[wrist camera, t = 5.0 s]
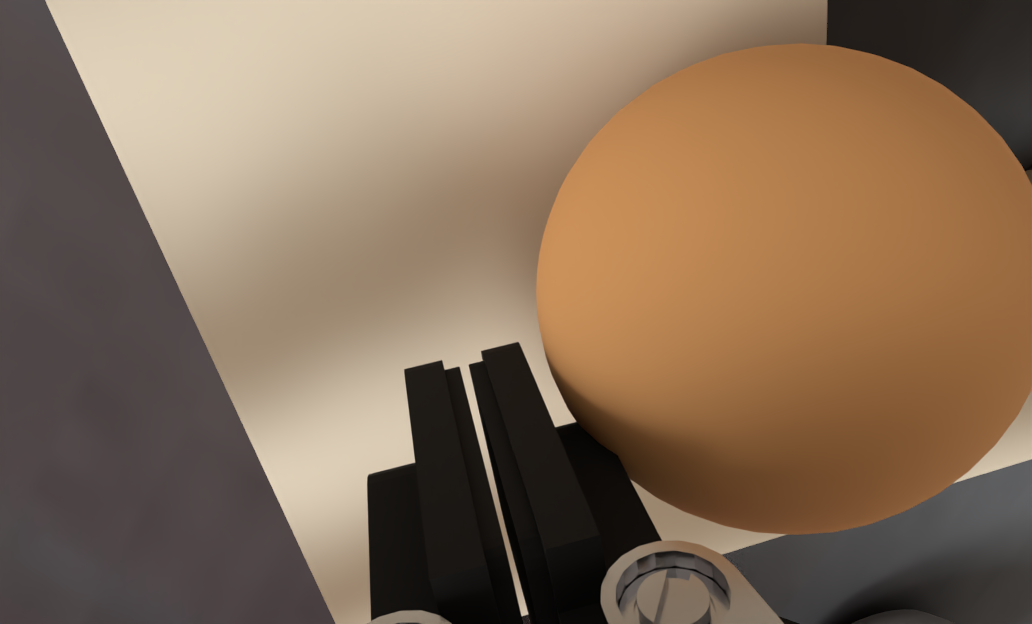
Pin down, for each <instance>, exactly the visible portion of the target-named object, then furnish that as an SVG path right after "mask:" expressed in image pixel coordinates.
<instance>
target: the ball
mask: <svg viewBox="0 0 1032 624" xmlns="http://www.w3.org/2000/svg"><path fill="white" fill-rule="evenodd" d="M536 299H537V314H538V322H539V328H540V333H541V338H542V342H543V347H544V351H545V356H546V359H547V362H548V365H549V368H550V371H551V374H552V377H553V379H554V381H555V383H556V385H557V387H558V390H559V392H560V394H561V396H562V398H563V400H564V402H565V404H566V406H567V408H568V410H569V411H570V413H571V414H572V416H573V417H574V419H575V421H576V422H578V423H579V425H580V426H581V427H582V428H583V429H584V430H585V431H586V432H587V433H588V434H589V435H591V436H592V437H593V438H594V439H595V440H596V441H597V442H598V443H599V444H601V445H603V446H604V447H606V448H607V449H609V450H610V451H612V452H613V453H615V454H616V455H618V457H619V459H620V461H621V463H622V465H623V466H624V468H625V470H626V472H627V474H628V476H629V478H630V479H631V480H632V481H634V482H635V483H636V484H638V485H639V486H641V487H642V488H643V489H645V490H646V491H648V492H649V493H650V494H652V495H653V496H655V497H656V498H658V499H660V500H662V501H664V502H666V503H668V504H670V505H672V506H674V507H675V508H677V509H679V510H681V511H683V512H686V513H689V514H692V515H694V516H697V517H700V518H703V519H706V520H709V521H711V522H714V523H717V524H720V525H723V526H727V527H732V528H737V529H742V530H747V531H751V532H757V533H773V534H789V535H801V534H814V533H828V532H837V531H841V530H846V529H851V528H855V527H860V526H865V525H869V524H872V523H874V522H877V521H880V520H883V519H885V518H888V517H891V516H894V515H896V514H899V513H902V512H904V511H906V510H908V509H910V508H912V507H914V506H916V505H918V504H920V503H922V502H923V501H925V500H927V499H929V498H931V497H933V496H935V495H937V494H938V493H940V492H941V491H943V490H944V489H945V488H947V487H948V486H950V485H951V484H952V483H954V482H955V481H956V480H958V479H959V478H961V477H962V476H963V475H965V474H966V473H967V472H969V471H970V470H971V469H972V468H973V467H974V466H975V465H976V464H977V463H978V462H979V461H980V460H981V459H982V458H983V457H984V456H985V455H986V454H987V453H988V452H989V451H990V450H991V449H992V448H993V447H994V446H995V445H996V444H997V443H998V441H999V440H1000V439H1001V437H1002V436H1003V435H1004V433H1005V432H1006V430H1007V429H1008V428H1009V426H1010V425H1011V424H1012V422H1013V421H1014V420H1015V418H1016V417H1017V416H1018V414H1019V413H1020V411H1021V409H1022V407H1023V405H1024V403H1025V401H1026V399H1027V397H1028V396H1029V394H1030V392H1031V390H1032V185H1031V183H1030V181H1029V179H1028V177H1027V175H1026V173H1025V171H1024V169H1023V167H1022V165H1021V164H1020V162H1019V161H1018V160H1017V158H1016V157H1015V155H1014V154H1013V153H1012V151H1011V150H1010V148H1009V147H1008V145H1007V144H1006V143H1005V141H1004V140H1003V138H1002V137H1001V136H1000V135H999V134H998V133H997V132H996V131H995V130H994V129H993V128H992V127H991V126H990V125H989V123H988V122H987V121H986V120H985V119H984V118H983V117H982V116H981V115H980V114H979V113H978V112H977V111H976V110H975V109H974V108H972V107H971V106H970V105H968V104H967V103H966V102H965V101H963V100H962V99H961V98H959V97H958V96H957V95H955V94H954V93H953V92H951V91H950V90H949V89H947V88H946V87H945V86H943V85H942V84H940V83H938V82H936V81H934V80H933V79H931V78H929V77H927V76H925V75H923V74H922V73H920V72H918V71H916V70H914V69H913V68H910V67H907V66H905V65H902V64H899V63H897V62H894V61H891V60H889V59H886V58H883V57H881V56H877V55H874V54H870V53H866V52H861V51H857V50H852V49H847V48H843V47H838V46H830V45H817V44H803V43H799V44H784V45H769V46H761V47H753V48H749V49H744V50H739V51H734V52H729V53H725V54H721V55H718V56H716V57H713V58H710V59H707V60H705V61H702V62H699V63H696V64H694V65H691V66H689V67H687V68H685V69H683V70H680V71H678V72H677V73H675V74H673V75H671V76H669V77H667V78H665V79H663V80H662V81H660V82H658V83H656V84H654V85H653V86H651V87H650V88H649V89H647V90H646V91H645V92H643V93H642V94H641V95H639V96H638V97H637V98H635V99H634V100H633V101H631V102H630V103H629V104H627V105H626V106H625V107H623V108H622V109H621V110H619V111H618V112H617V113H616V114H615V115H614V116H613V117H612V118H611V119H610V120H609V122H608V123H607V124H606V125H605V126H604V127H603V128H602V129H601V130H600V131H599V132H598V133H597V134H596V135H595V136H594V137H593V138H592V140H591V141H590V142H589V143H588V145H587V146H586V148H585V149H584V151H583V152H582V153H581V155H580V156H579V158H578V159H577V161H576V162H575V164H574V165H573V167H572V168H571V170H570V171H569V173H568V174H567V176H566V178H565V180H564V182H563V184H562V186H561V188H560V190H559V192H558V194H557V197H556V199H555V202H554V204H553V207H552V210H551V212H550V215H549V218H548V221H547V224H546V228H545V231H544V234H543V238H542V243H541V248H540V253H539V260H538V268H537V283H536Z"/></svg>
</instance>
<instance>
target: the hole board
mask: <svg viewBox="0 0 1032 624" xmlns="http://www.w3.org/2000/svg"><path fill="white" fill-rule="evenodd" d="M45 1H46V3H47V5H48V7H49V10H50V12H51V14H52V16H53V18H54V20H55V22H56V25H57V27H58V29H59V31H60V33H61V35H62V37H63V40H64V42H65V44H66V46H67V48H68V50H69V52H70V55H71V57H72V59H73V61H74V63H75V65H76V67H77V70H78V72H79V74H80V76H81V78H82V80H83V82H84V85H85V87H86V89H87V91H88V93H89V95H90V97H91V100H92V102H93V104H94V106H95V108H96V110H97V113H98V115H99V117H100V119H101V121H102V123H103V125H104V128H105V130H106V132H107V134H108V136H109V138H110V140H111V143H112V145H113V147H114V149H115V151H116V153H117V155H118V158H119V160H120V162H121V164H122V166H123V168H124V170H125V173H126V175H127V177H128V179H129V181H130V183H131V185H132V188H133V190H134V192H135V194H136V196H137V198H138V201H139V203H140V205H141V207H142V209H143V211H144V213H145V216H146V218H147V220H148V222H149V224H150V226H151V228H152V231H153V233H154V235H155V237H156V239H157V241H158V243H159V246H160V248H161V250H162V252H163V254H164V256H165V258H166V261H167V263H168V265H169V267H170V269H171V271H172V273H173V276H174V278H175V280H176V282H177V284H178V286H179V288H180V291H181V293H182V295H183V297H184V299H185V301H186V304H187V306H188V308H189V310H190V312H191V314H192V316H193V319H194V321H195V323H196V325H197V327H198V329H199V331H200V334H201V336H202V338H203V340H204V342H205V344H206V346H207V349H208V351H209V353H210V355H211V357H212V359H213V361H214V364H215V366H216V368H217V370H218V372H219V374H220V376H221V379H222V381H223V383H224V385H225V387H226V389H227V392H228V394H229V396H230V398H231V400H232V402H233V404H234V407H235V409H236V411H237V413H238V415H239V417H240V419H241V422H242V424H243V426H244V428H245V430H246V432H247V434H248V437H249V439H250V441H251V443H252V445H253V447H254V449H255V452H256V454H257V456H258V458H259V460H260V462H261V464H262V467H263V469H264V471H265V473H266V475H267V477H268V479H269V482H270V484H271V486H272V488H273V490H274V492H275V495H276V497H277V499H278V501H279V503H280V505H281V507H282V510H283V512H284V514H285V516H286V518H287V520H288V522H289V525H290V527H291V529H292V531H293V533H294V535H295V537H296V540H297V542H298V544H299V546H300V548H301V550H302V552H303V555H304V557H305V559H306V561H307V563H308V565H309V567H310V570H311V572H312V574H313V576H314V578H315V580H316V583H317V585H318V587H319V589H320V591H321V593H322V595H323V598H324V600H325V602H326V604H327V606H328V608H329V610H330V613H331V615H332V617H333V619H334V621H335V623H336V624H367V623H369V622H371V604H370V570H369V536H368V501H367V477H368V475H369V474H372V473H376V472H380V471H384V470H387V469H391V468H395V467H399V466H403V465H407V464H411V463H415V457H414V449H413V440H412V432H411V424H410V416H409V408H408V400H407V391H406V383H405V375H404V369H407V368H411V367H415V366H419V365H423V364H428V363H432V362H436V361H440V360H442V361H443V365H444V369H445V370H446V369H451V368H455V367H460V370H461V374H462V378H463V382H464V386H465V390H466V394H467V398H468V402H469V406H470V410H471V414H472V418H473V422H474V425H475V429H476V433H477V437H478V441H479V445H480V449H481V453H482V457H483V461H484V465H485V469H486V473H487V477H488V481H489V485H490V489H491V492H492V496H493V500H494V504H495V508H496V512H497V516H498V520H499V524H500V528H501V532H502V536H503V540H504V544H505V548H506V552H507V556H508V560H509V564H510V569H511V573H512V577H513V581H514V586H515V590H516V594H517V599H518V603H519V607H520V612H521V616H524V615H527V614H528V611H527V607H526V603H525V600H524V596H523V592H522V588H521V585H520V581H519V577H518V573H517V570H516V566H515V562H514V558H513V554H512V551H511V547H510V543H509V539H508V536H507V532H506V528H505V524H504V520H503V515H502V511H501V507H500V502H499V498H498V493H497V489H496V485H495V480H494V476H493V471H492V467H491V462H490V458H489V454H488V449H487V445H486V440H485V436H484V432H483V427H482V423H481V418H480V414H479V409H478V405H477V401H476V396H475V392H474V387H473V383H472V378H471V374H470V369H469V364H472V363H476V362H480V361H483V360H482V355H481V351H482V350H487V349H491V348H495V347H499V346H503V345H507V344H511V343H515V342H519V343H520V345H521V348H522V350H523V352H524V355H525V357H526V359H527V362H528V364H529V367H530V369H531V371H532V374H533V376H534V378H535V381H536V383H537V385H538V388H539V390H540V393H541V395H542V397H543V400H544V402H545V404H546V407H547V409H548V411H549V414H550V416H551V419H552V421H553V423H554V426H555V427H558V426H562V425H566V424H570V423H574V422H576V421H575V419H574V417H573V416H572V414H571V413H570V411H569V410H568V408H567V406H566V404H565V402H564V400H563V398H562V396H561V394H560V392H559V390H558V387H557V385H556V383H555V381H554V379H553V377H552V374H551V371H550V368H549V365H548V362H547V359H546V356H545V351H544V347H543V342H542V338H541V333H540V328H539V322H538V314H537V299H536V283H537V268H538V260H539V253H540V248H541V243H542V238H543V234H544V231H545V228H546V224H547V221H548V218H549V215H550V212H551V210H552V207H553V204H554V202H555V199H556V197H557V194H558V192H559V190H560V188H561V186H562V184H563V182H564V180H565V178H566V176H567V174H568V173H569V171H570V170H571V168H572V167H573V165H574V164H575V162H576V161H577V159H578V158H579V156H580V155H581V153H582V152H583V151H584V149H585V148H586V146H587V145H588V143H589V142H590V141H591V140H592V138H593V137H594V136H595V135H596V134H597V133H598V132H599V131H600V130H601V129H602V128H603V127H604V126H605V125H606V124H607V123H608V122H609V120H610V119H611V118H612V117H613V116H614V115H615V114H616V113H617V112H618V111H619V110H621V109H622V108H623V107H625V106H626V105H627V104H629V103H630V102H631V101H633V100H634V99H635V98H637V97H638V96H639V95H641V94H642V93H643V92H645V91H646V90H647V89H649V88H650V87H651V86H653V85H654V84H656V83H658V82H660V81H662V80H663V79H665V78H667V77H669V76H671V75H673V74H675V73H677V72H678V71H680V70H683V69H685V68H687V67H689V66H691V65H694V64H696V63H699V62H702V61H705V60H707V59H710V58H713V57H716V56H718V55H721V54H725V53H729V52H734V51H739V50H744V49H749V48H753V47H761V46H769V45H784V44H799V43H803V44H817V45H826V42H827V0H45ZM1025 173H1026V175H1027V177H1028V179H1029V181H1030V183H1031V185H1032V169H1031V170H1027V171H1025ZM1030 459H1032V390H1031V392H1030V394H1029V396H1028V397H1027V399H1026V401H1025V403H1024V405H1023V407H1022V409H1021V411H1020V413H1019V414H1018V416H1017V417H1016V418H1015V420H1014V421H1013V422H1012V424H1011V425H1010V426H1009V428H1008V429H1007V430H1006V432H1005V433H1004V435H1003V436H1002V437H1001V439H1000V440H999V441H998V443H997V444H996V445H995V446H994V447H993V448H992V449H991V450H990V451H989V452H988V453H987V454H986V455H985V456H984V457H983V458H982V459H981V460H980V461H979V462H978V463H977V464H976V465H975V466H974V467H973V468H972V469H971V470H970V471H969V472H967V473H966V474H965V475H963V476H962V477H961V478H959V479H958V480H956V481H955V482H959V481H962V480H965V479H968V478H972V477H975V476H978V475H981V474H985V473H988V472H991V471H994V470H998V469H1001V468H1004V467H1007V466H1011V465H1014V464H1017V463H1020V462H1024V461H1027V460H1030ZM630 480H631V479H630ZM631 482H632V484H633V486H634V488H635V490H636V491H637V493H638V495H639V497H640V499H641V501H642V503H643V505H644V507H645V509H646V511H647V513H648V514H649V516H650V518H651V520H652V522H653V524H654V526H655V528H656V530H657V532H658V534H659V536H660V537H661V539H662V541H676V540H680V541H685V542H690V543H695V544H700V545H703V546H705V547H707V548H709V549H711V550H713V551H716V552H718V553H720V554H721V555H722V554H725V553H728V552H732V551H735V550H738V549H741V548H745V547H748V546H751V545H754V544H758V543H761V542H764V541H767V540H771V539H774V538H777V537H780V536H784V535H787V534H773V533H757V532H751V531H747V530H742V529H737V528H732V527H727V526H723V525H720V524H717V523H714V522H711V521H709V520H706V519H703V518H700V517H697V516H694V515H692V514H689V513H686V512H683V511H681V510H679V509H677V508H675V507H674V506H672V505H670V504H668V503H666V502H664V501H662V500H660V499H658V498H656V497H655V496H653V495H652V494H650V493H649V492H648V491H646V490H645V489H643V488H642V487H641V486H639V485H638V484H636V483H635V482H634V481H632V480H631ZM955 482H954V483H955Z"/></svg>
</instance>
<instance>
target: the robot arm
mask: <svg viewBox="0 0 1032 624" xmlns="http://www.w3.org/2000/svg"><path fill="white" fill-rule="evenodd" d="M481 355H482V360H483V361H480V362H476V363H472V364H469V369H470V374H471V378H472V383H473V387H474V392H475V396H476V401H477V405H478V409H479V414H480V418H481V423H482V427H483V432H484V436H485V440H486V445H487V449H488V454H489V458H490V462H491V467H492V471H493V476H494V480H495V485H496V489H497V493H498V498H499V502H500V507H501V511H502V515H503V520H504V524H505V528H506V532H507V536H508V539H509V543H510V547H511V551H512V554H513V558H514V562H515V566H516V570H517V573H518V577H519V581H520V585H521V588H522V592H523V596H524V600H525V603H526V607H527V611H528V615H529V618H530V622H531V624H799V623H796V622H793V621H790V620H787V619H784V618H782V617H779V616H777V615H776V614H775V612H774V611H773V610H772V609H771V608H770V607H769V605H768V604H767V603H766V602H765V601H764V600H763V599H762V597H761V596H760V595H759V594H758V593H757V592H756V590H755V589H754V588H753V587H752V586H751V585H750V583H749V582H748V581H747V580H746V579H745V578H744V576H743V575H742V574H741V573H740V572H739V571H738V569H737V568H736V567H735V566H734V565H733V564H731V563H730V562H729V561H728V560H727V559H726V558H724V557H723V556H722V555H721V554H720V553H718V552H716V551H713V550H711V549H709V548H707V547H705V546H703V545H700V544H695V543H690V542H685V541H680V540H676V541H662V539H661V537H660V536H659V534H658V532H657V530H656V528H655V526H654V524H653V522H652V520H651V518H650V516H649V514H648V513H647V511H646V509H645V507H644V505H643V503H642V501H641V499H640V497H639V495H638V493H637V491H636V490H635V488H634V486H633V484H632V482H631V480H630V478H629V476H628V474H627V472H626V470H625V468H624V466H623V465H622V463H621V461H620V459H619V457H618V455H616V454H615V453H613V452H612V451H610V450H609V449H607V448H606V447H604V446H603V445H601V444H599V443H598V442H597V441H596V440H595V439H594V438H593V437H592V436H591V435H589V434H588V433H587V432H586V431H585V430H584V429H583V428H582V427H581V426H580V425H579V423H578V422H574V423H570V424H566V425H562V426H558V427H555V426H554V423H553V421H552V419H551V416H550V414H549V411H548V409H547V407H546V404H545V402H544V400H543V397H542V395H541V393H540V390H539V388H538V385H537V383H536V381H535V378H534V376H533V374H532V371H531V369H530V367H529V364H528V362H527V359H526V357H525V355H524V352H523V350H522V348H521V345H520V343H519V342H515V343H511V344H507V345H503V346H499V347H495V348H491V349H487V350H482V351H481ZM404 375H405V383H406V391H407V400H408V408H409V416H410V424H411V432H412V440H413V449H414V457H415V463H411V464H407V465H403V466H399V467H395V468H391V469H387V470H384V471H380V472H376V473H372V474H369V475H368V477H367V501H368V536H369V570H370V604H371V622H369V623H367V624H523V621H522V616H521V612H520V607H519V603H518V599H517V594H516V590H515V586H514V581H513V577H512V573H511V569H510V564H509V560H508V556H507V552H506V548H505V544H504V540H503V536H502V532H501V528H500V524H499V520H498V516H497V512H496V508H495V504H494V500H493V496H492V492H491V489H490V485H489V481H488V477H487V473H486V469H485V465H484V461H483V457H482V453H481V449H480V445H479V441H478V437H477V433H476V429H475V425H474V422H473V418H472V414H471V410H470V406H469V402H468V398H467V394H466V390H465V386H464V382H463V378H462V374H461V370H460V367H455V368H451V369H446V370H445V369H444V365H443V361H442V360H440V361H436V362H432V363H428V364H423V365H419V366H415V367H411V368H407V369H404Z"/></svg>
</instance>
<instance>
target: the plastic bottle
mask: <svg viewBox="0 0 1032 624" xmlns="http://www.w3.org/2000/svg"><path fill="white" fill-rule="evenodd" d="M852 624H955V623H954V622H952V621H949V620H946V619H943V618H941V617H938V616H935V615H932V614H929V613H926V612H922V611H918V610H907V609H901V610H893V611H886V612H882V613H878V614H875V615H871V616H869V617H866V618H864V619H861V620H858V621H856V622H854V623H852Z"/></svg>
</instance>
